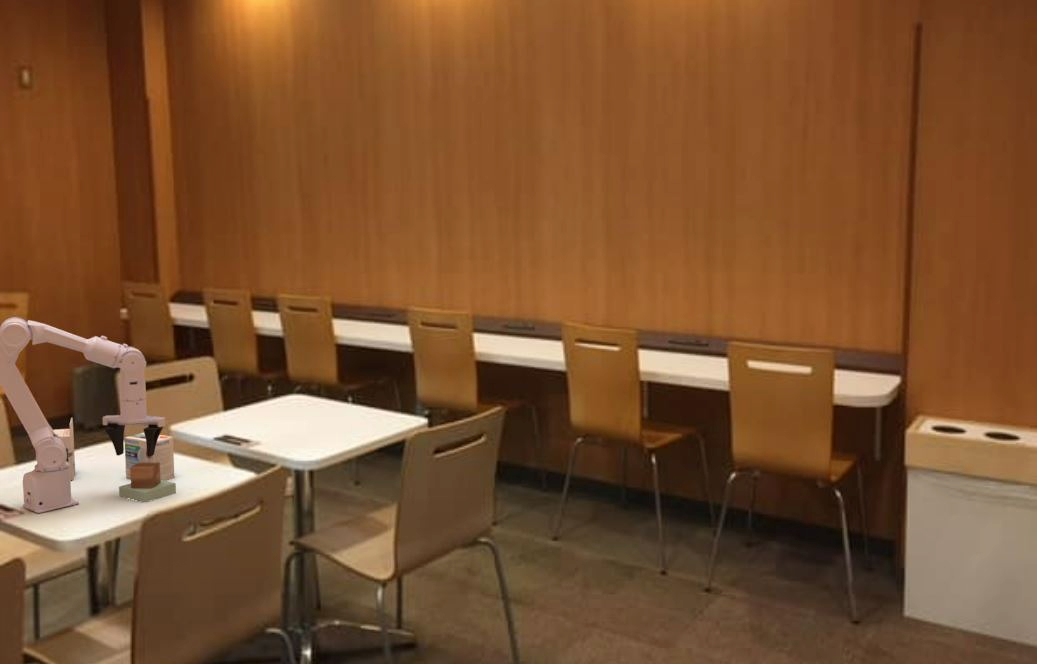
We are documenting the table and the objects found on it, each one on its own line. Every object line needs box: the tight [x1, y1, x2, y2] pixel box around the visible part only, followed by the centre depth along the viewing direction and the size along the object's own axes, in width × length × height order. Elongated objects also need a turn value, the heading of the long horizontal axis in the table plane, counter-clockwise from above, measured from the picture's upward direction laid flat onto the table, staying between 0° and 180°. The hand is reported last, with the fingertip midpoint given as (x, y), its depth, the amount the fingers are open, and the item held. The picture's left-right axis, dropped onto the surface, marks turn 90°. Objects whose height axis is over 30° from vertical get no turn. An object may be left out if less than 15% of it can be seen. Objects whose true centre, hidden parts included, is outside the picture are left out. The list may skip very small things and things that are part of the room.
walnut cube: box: [130, 462, 161, 489], centre depth 226 cm, size 5×5×5 cm
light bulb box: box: [124, 432, 176, 481], centre depth 241 cm, size 11×7×11 cm, turn 62°
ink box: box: [53, 417, 76, 481], centre depth 241 cm, size 9×5×15 cm, turn 22°
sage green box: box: [118, 480, 177, 503], centre depth 227 cm, size 9×9×3 cm
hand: (135, 455), depth 226 cm, fingers open, 7 cm apart
